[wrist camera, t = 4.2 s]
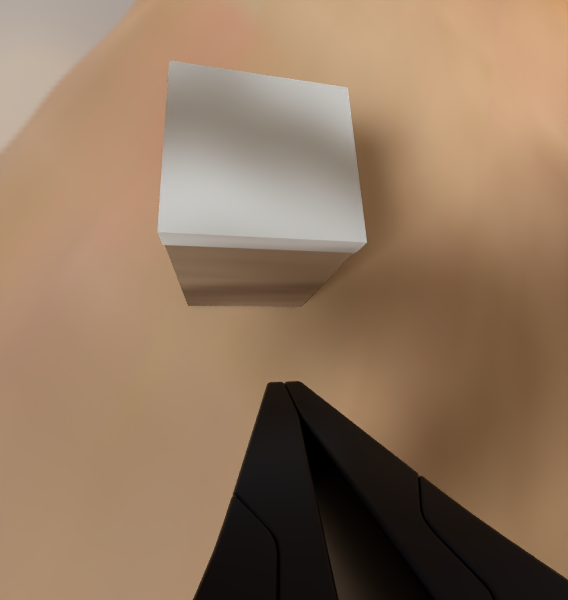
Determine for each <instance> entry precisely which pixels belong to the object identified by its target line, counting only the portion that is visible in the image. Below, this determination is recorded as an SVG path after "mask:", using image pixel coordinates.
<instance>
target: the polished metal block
mask: <svg viewBox="0 0 568 600" xmlns="http://www.w3.org/2000/svg"><path fill="white" fill-rule="evenodd" d="M158 235H159V237H160V240H161V242H162V245H165V246H166V249H167V251H168V254H169V257H170V259H171V262H172V265H173V267H174V270H175V272H176V275H177V278H178V280H179V283H180V286H181V288H182V291H183V294H184V296H185V299H186V301H187V304H188V306H302V305H303V304H304V303H305V302H306V301H307V300H308V299H309V298H310V297H311V296H312V295H313V294H314V293H315V292H316V291H317V290H318V289H319V288H320V287H321V286H322V285H323V284H324V283H325V282H326V281H327V280H328V279H329V278H330V277H331V276H332V274H333V273H334V272H335V271H336V270H337V269H338V268H339V267H340V266H341V265H342V264H343V263H344V262H345V261H346V260H347V259H348V258H349V257H350V256H351V255H352V254H353V253H357V252H358V251H359V250H360V249H361V248H362V247H363V246H364V245H365V244H366V243H367V238H366V230H365V222H364V214H363V206H362V198H361V190H360V182H359V174H358V166H357V158H356V150H355V142H354V134H353V126H352V118H351V110H350V103H349V95H348V87H341V86H334V85H328V84H321V83H315V82H308V81H301V80H295V79H288V78H281V77H275V76H268V75H262V74H255V73H248V72H242V71H235V70H229V69H222V68H215V67H209V66H202V65H196V64H189V63H182V62H176V61H169V74H168V88H167V102H166V117H165V131H164V145H163V160H162V174H161V188H160V203H159V217H158Z"/></svg>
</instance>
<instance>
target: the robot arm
mask: <svg viewBox="0 0 568 600" xmlns="http://www.w3.org/2000/svg"><path fill="white" fill-rule="evenodd" d="M193 600H568V579H566V578H565V577H563V576H562V575H560V574H559V573H557V572H556V571H554V570H553V569H551V568H550V567H548V566H547V565H545V564H544V563H543V562H541V561H540V560H538V559H537V558H535V557H534V556H532V555H531V554H529V553H528V552H526V551H525V550H523V549H522V548H520V547H519V546H518V545H516V544H515V543H513V542H512V541H510V540H509V539H507V538H506V537H504V536H503V535H502V534H500V533H499V532H497V531H496V530H494V529H493V528H492V527H490V526H489V525H487V524H486V523H485V522H483V521H482V520H480V519H479V518H477V517H476V516H475V515H473V514H472V513H470V512H469V511H468V510H466V509H465V508H464V507H462V506H461V505H460V504H458V503H457V502H456V501H454V500H453V499H452V498H450V497H449V496H448V495H446V494H445V493H444V492H442V491H441V490H440V489H438V488H437V487H436V486H435V485H433V484H432V483H431V482H429V481H428V480H427V479H426V478H424V477H423V476H419V475H418V473H417V472H416V471H414V470H413V469H412V468H410V467H409V466H408V465H407V464H405V463H404V462H403V461H401V460H400V459H399V458H398V457H396V456H395V455H394V454H393V453H391V452H390V451H389V450H387V449H386V448H385V447H384V446H382V445H381V444H380V443H378V442H377V441H376V440H375V439H373V438H372V437H371V436H370V435H368V434H367V433H366V432H364V431H363V430H362V429H361V428H359V427H358V426H357V425H355V424H354V423H353V422H352V421H350V420H349V419H348V418H346V417H345V416H344V415H343V414H341V413H340V412H339V411H338V410H336V409H335V408H334V407H332V406H331V405H330V404H329V403H327V402H326V401H325V400H323V399H322V398H321V397H320V396H318V395H317V394H316V393H314V392H313V391H312V390H311V389H309V388H308V387H307V386H306V385H304V384H303V383H301V382H300V381H293V382H285V383H283V382H270V383H268V384H267V386H266V390H265V393H264V396H263V399H262V402H261V406H260V409H259V412H258V415H257V418H256V422H255V425H254V428H253V431H252V434H251V438H250V441H249V444H248V447H247V450H246V454H245V457H244V460H243V463H242V467H241V470H240V473H239V476H238V479H237V483H236V486H235V489H234V492H233V497H232V498H231V501H230V504H229V507H228V510H227V513H226V517H225V520H224V522H223V525H222V528H221V531H220V534H219V537H218V540H217V542H216V545H215V548H214V551H213V553H212V556H211V558H210V560H209V563H208V565H207V568H206V570H205V572H204V575H203V577H202V580H201V582H200V584H199V587H198V589H197V592H196V594H195V596H194V598H193Z"/></svg>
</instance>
